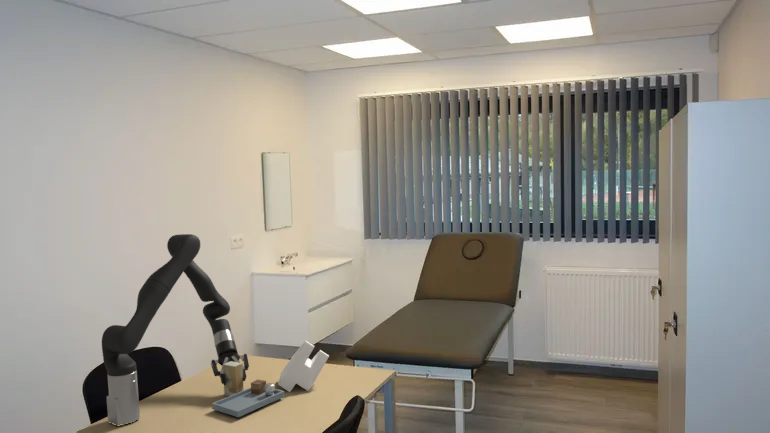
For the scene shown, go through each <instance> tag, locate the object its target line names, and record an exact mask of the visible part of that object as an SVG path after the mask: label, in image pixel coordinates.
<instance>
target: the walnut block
mask: <svg viewBox="0 0 770 433" xmlns="http://www.w3.org/2000/svg"><path fill="white" fill-rule="evenodd" d="M265 384H267V380H264V379H263V380H262V379H256V380H254V381H252V382H250V388H251V393H252V394H258V395H260V394H262V393H264V392H265Z"/></svg>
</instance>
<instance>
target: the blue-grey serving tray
mask: <svg viewBox="0 0 770 433" xmlns="http://www.w3.org/2000/svg"><path fill="white" fill-rule="evenodd" d="M284 397H286V393H285V391H284V390H282V389H277V388H275V394H274V395H272V396H270V397H266V396H265V392H264V393H262V394H260V395H258V394H252V393H251V387H248V388H246V389H243V391H241V392H238V393H236V394H234V395H231V396H227V397H224V398H222V399H219V400H216V401H214V402H212V403H211V410H214V411H216V412H218V413H223V414H227V415H230V416H234V417H235V418H236V419H241V418H243V416H244V415H247V414H249V413H251V412H253V411H255V410H257V409H260V408H261V407H264V406H267V405H268V404H269V405H270V404H271V403H273V402H279V401H280V400H281V399H283V398H284Z"/></svg>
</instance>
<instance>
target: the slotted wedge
mask: <svg viewBox="0 0 770 433" xmlns="http://www.w3.org/2000/svg"><path fill="white" fill-rule="evenodd" d="M314 348H315V345H313V344H312V343H310V342H309V341H307V340H304V342H302V344H301V345H300V347H299V348H298V349H297V350H296V351H295V353H293V355H292V357H291V358H290V359H289V361H288V362H287V363H286V365H285V366H284V368H283V369H282V371H281V372H280V375H279V378H278V383H277V386H280V387H281V388H283V389H284V390H286V391H287V392H289V393H290V392H291V391H292V390H293V389H294V387H295V385H298V386H300V387H301V388H302V389H304V390H306V392H307V391H310V389H311V388H312V387H313V385H314V383H315V382H316V380H317V378H318V376H319V374H320V373H321V371H322V369H323V368H324V366H325V364H326V363H327V361H328V359H329V358H330V355H329V354H327V353H326V352H324V351H323V350H321V349H319V351H318V352H317V353H316V354H315V355H314V356H313V358H311V359H310V355H311V354H312V352H313V350H314Z"/></svg>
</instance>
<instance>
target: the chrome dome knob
mask: <svg viewBox="0 0 770 433" xmlns="http://www.w3.org/2000/svg"><path fill="white" fill-rule="evenodd" d="M275 389H276V387H275V383H274V382H268V383H267V382H266V384H265V396H266V397H270V396H272V395H274V394H275Z"/></svg>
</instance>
